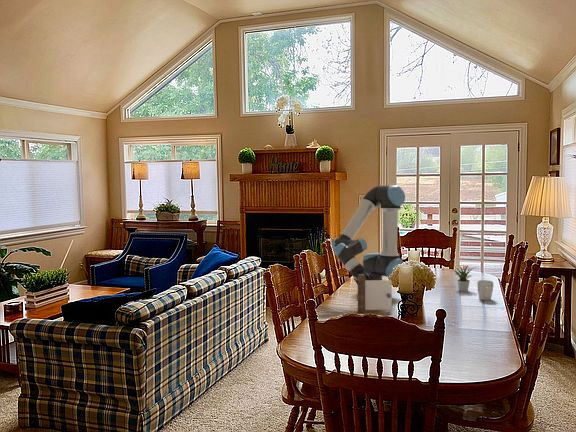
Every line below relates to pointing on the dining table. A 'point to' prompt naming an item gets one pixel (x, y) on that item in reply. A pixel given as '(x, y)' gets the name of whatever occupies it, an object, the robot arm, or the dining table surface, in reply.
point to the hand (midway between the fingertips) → (380, 299)
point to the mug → (485, 289)
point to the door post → (361, 293)
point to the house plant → (463, 278)
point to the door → (378, 295)
